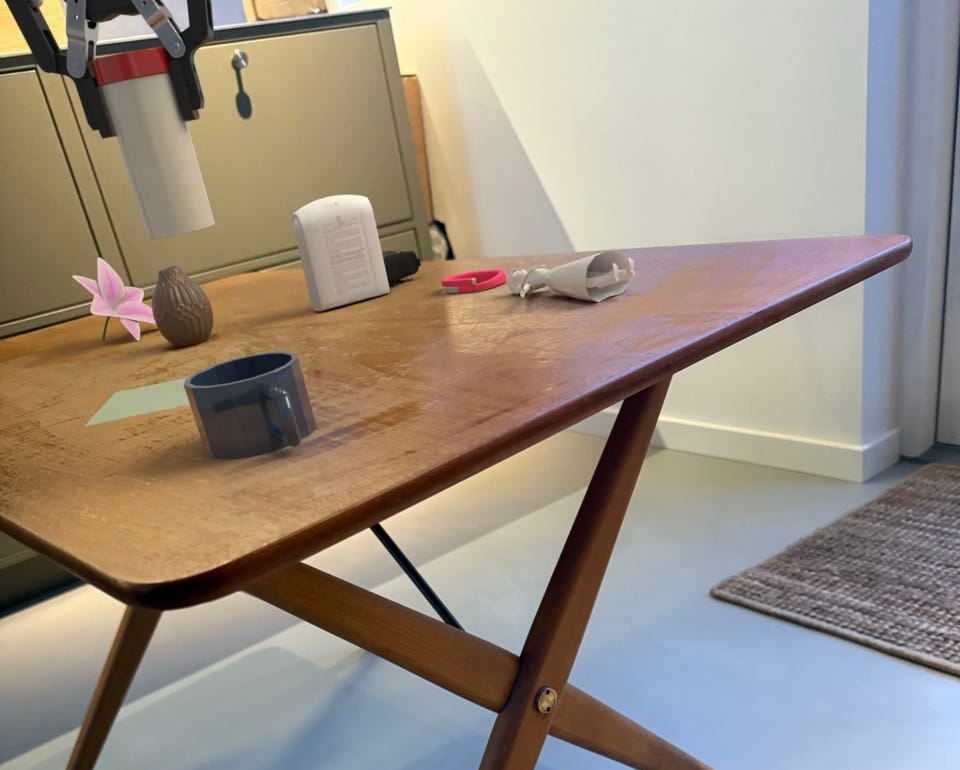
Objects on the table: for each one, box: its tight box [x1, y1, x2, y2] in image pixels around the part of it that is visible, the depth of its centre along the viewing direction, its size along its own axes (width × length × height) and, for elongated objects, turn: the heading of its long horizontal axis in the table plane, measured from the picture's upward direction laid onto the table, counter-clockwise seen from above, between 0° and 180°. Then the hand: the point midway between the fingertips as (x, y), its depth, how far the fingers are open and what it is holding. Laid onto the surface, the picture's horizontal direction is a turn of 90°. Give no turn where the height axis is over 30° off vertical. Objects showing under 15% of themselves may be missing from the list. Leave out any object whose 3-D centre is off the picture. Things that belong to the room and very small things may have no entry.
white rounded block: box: [292, 194, 391, 312], centre depth 126 cm, size 10×4×12 cm, turn 116°
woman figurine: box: [506, 249, 636, 303], centre depth 108 cm, size 12×4×18 cm
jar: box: [90, 46, 216, 240], centre depth 73 cm, size 5×5×12 cm
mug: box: [184, 350, 318, 460], centre depth 79 cm, size 12×9×6 cm
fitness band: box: [441, 268, 507, 294], centre depth 122 cm, size 8×6×2 cm
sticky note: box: [83, 376, 190, 428], centre depth 101 cm, size 14×12×1 cm
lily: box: [71, 257, 156, 342], centre depth 136 cm, size 12×12×10 cm
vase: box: [151, 265, 214, 348], centre depth 123 cm, size 7×7×9 cm
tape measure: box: [382, 249, 422, 286], centre depth 135 cm, size 7×7×4 cm
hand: (150, 127), depth 72 cm, fingers closed on jar, 5 cm apart
